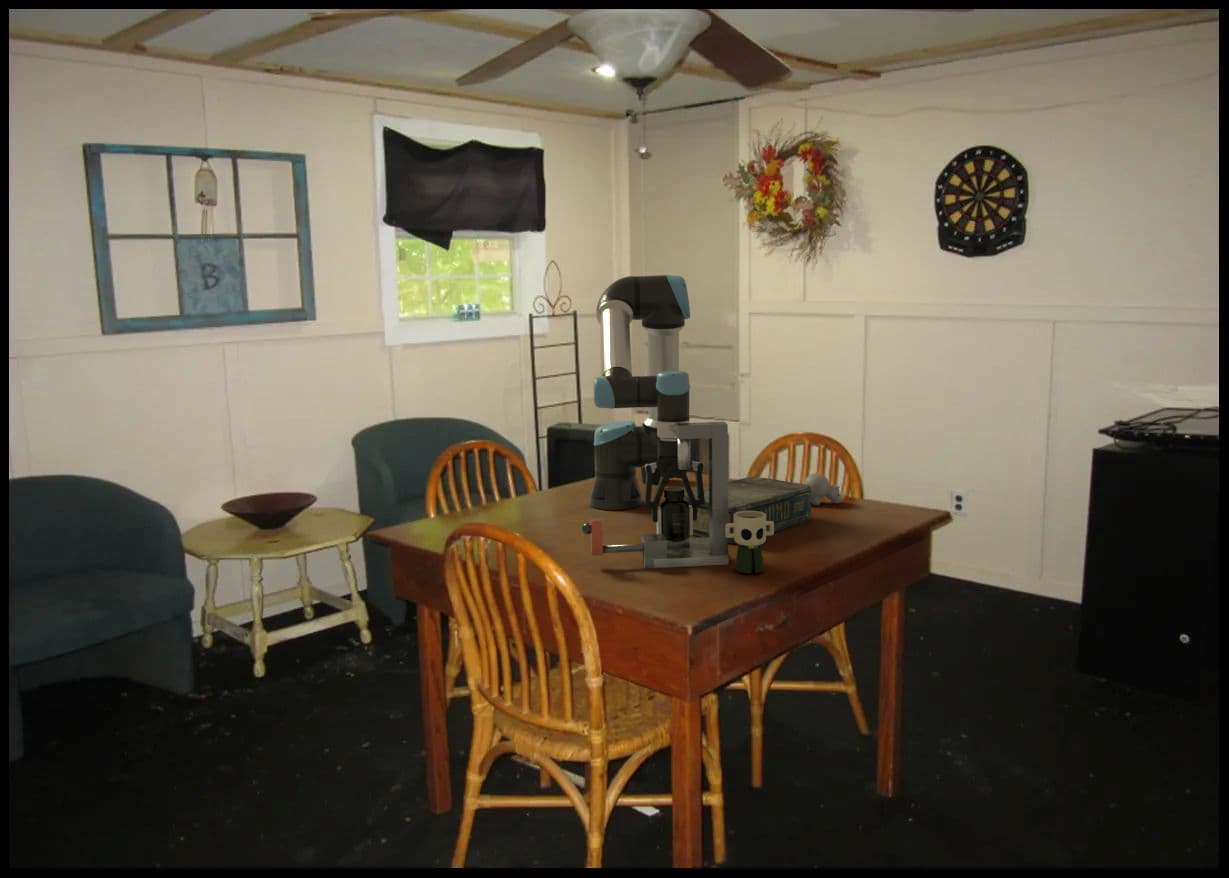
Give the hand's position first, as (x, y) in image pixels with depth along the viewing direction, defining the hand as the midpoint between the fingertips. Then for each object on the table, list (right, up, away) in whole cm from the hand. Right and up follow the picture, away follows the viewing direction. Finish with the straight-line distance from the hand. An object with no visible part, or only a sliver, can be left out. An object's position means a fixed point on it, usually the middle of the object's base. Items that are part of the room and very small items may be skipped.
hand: (674, 534), depth 234 cm
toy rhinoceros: (+44, +4, +45) cm, 63 cm away
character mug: (+16, -7, -15) cm, 23 cm away
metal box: (+19, -1, +24) cm, 30 cm away
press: (+2, -5, -2) cm, 6 cm away
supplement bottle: (0, -1, 0) cm, 1 cm away
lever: (-9, -3, -9) cm, 13 cm away
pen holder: (-1, +9, +78) cm, 78 cm away
